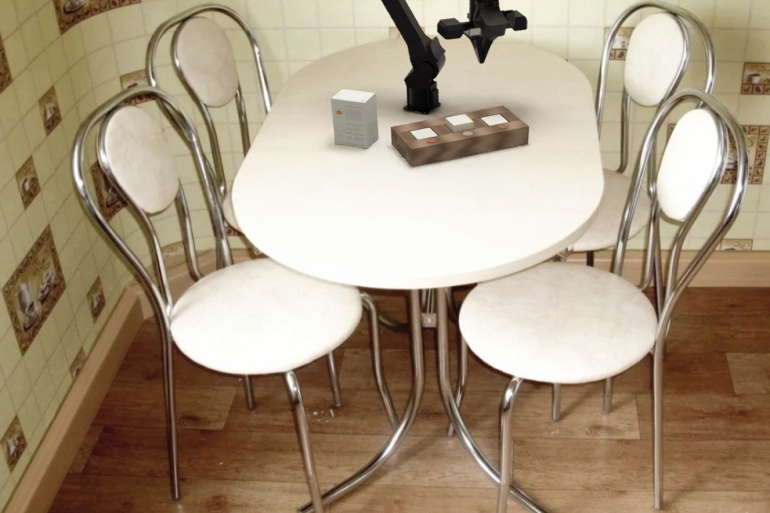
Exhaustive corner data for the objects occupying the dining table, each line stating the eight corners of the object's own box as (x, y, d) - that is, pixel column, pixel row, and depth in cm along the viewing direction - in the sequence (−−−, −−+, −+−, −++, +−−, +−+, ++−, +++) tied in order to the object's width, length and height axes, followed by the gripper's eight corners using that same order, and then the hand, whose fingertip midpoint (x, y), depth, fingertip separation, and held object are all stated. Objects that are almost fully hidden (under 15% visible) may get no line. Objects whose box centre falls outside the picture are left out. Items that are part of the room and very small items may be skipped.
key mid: (453, 139, 197) (453, 125, 195) (445, 131, 200) (445, 117, 199) (473, 135, 198) (473, 121, 196) (464, 127, 201) (464, 114, 200)
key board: (412, 167, 192) (411, 148, 190) (391, 144, 202) (390, 125, 200) (528, 143, 199) (529, 125, 197) (502, 122, 209) (503, 104, 207)
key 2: (489, 138, 200) (489, 125, 198) (480, 130, 203) (480, 117, 202) (508, 135, 201) (508, 121, 199) (499, 127, 204) (499, 114, 203)
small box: (379, 138, 204) (376, 92, 199) (368, 149, 200) (365, 102, 195) (345, 133, 207) (342, 88, 202) (334, 144, 203) (330, 97, 198)
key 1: (418, 153, 195) (417, 139, 194) (410, 144, 199) (409, 131, 197) (437, 149, 197) (437, 135, 195) (429, 140, 200) (429, 127, 199)
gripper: (454, 8, 191) (453, 81, 199) (540, -3, 195) (536, 70, 204) (436, -8, 200) (436, 63, 209) (518, -17, 205) (515, 53, 213)
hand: (481, 63), depth 208 cm, fingers closed
